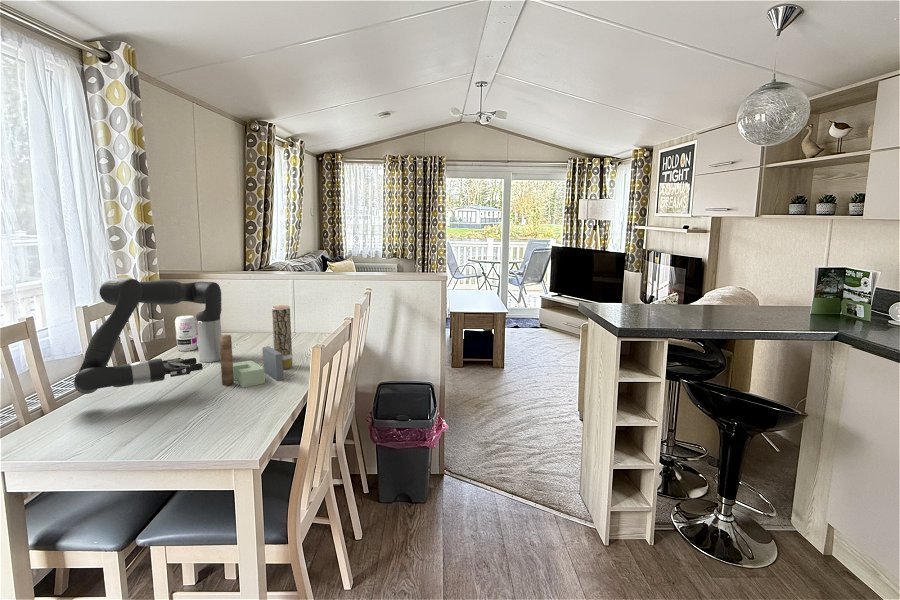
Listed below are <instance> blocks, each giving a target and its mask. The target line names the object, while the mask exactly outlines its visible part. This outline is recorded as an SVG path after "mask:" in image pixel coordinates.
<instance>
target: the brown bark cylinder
mask: <svg viewBox="0 0 900 600" xmlns="http://www.w3.org/2000/svg"><path fill="white" fill-rule="evenodd" d="M271 310H272V311H271V313H272V332H273V333H272V334H273V349H275V350H276V351H278V352H280V353H282V359H283V370H288V369H291V368H292V367H293V347H292V346H293V345H292V321H291V306H290V305H285V304H284V305H283V304H281V305H274V306H272V307H271Z"/></svg>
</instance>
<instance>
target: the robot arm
mask: <svg viewBox="0 0 900 600" xmlns="http://www.w3.org/2000/svg"><path fill="white" fill-rule="evenodd" d="M99 296H100V298H101V300H103V302H105V303H106V304H108V305H112V306H115V307H114V309H113V311H112V313H111V314H110V316H109V317H107V319H105V321H104V322H103V323H102V324H101V325H100V326H99V327H98V328H97V330H96V331H95V332H94V333H93V335H92V336H91V338H90V341H89V343H88V345H87V348H86V351H85V354H84V358H83V361H82V363H81V365H80V367H79V368H80V369H78V372H77V373H76V375H75V376H74V380H73V381H74V382H73V385H74V389H75V390H76V391H77V392H78V393H80V394H83V395H89V394H93V393H94V392H96V391H97V390H98V389H104V388H110V387H111V388H112V387H113V388H121V387H123V388H124V387H129V386H135V385H144V384H150V383H157V382H163V381H164V380H165V376H166V375H170V377H171V378H173V377H179V376H185V375H186V376H187V375H190V374H191V373H192V372H197V371H202V370H203V367H204V366H203V363H212V362H218V361H221V358H220V343H219V336H222V326H221V325H222V323H221V314H222V289H221V286H220V284H219V283H217V282H214V281H193V282H183V283H182V282H181V281H177V280H171V279H169V280H168V279H167V280H166V279H157V280H156V279H155V280H145V281H139V280H137V279H135V278H130V277H129V278H128V277H127V278H126V277H125V278H124V277H122V278H111V279H108V280H106V281H105V282H103V283H102V284H101V286H100V288H99ZM182 302H188V303H195V304H201V305H202V304H203V305H204V306H205V308H204V310H202V311H199V312H198V313H196V314H195V322H196V336H197V349H198V360H199V362H202V363H197V358H196V357H191V358H185V359H184V358H181V357H178V358H171V359H165V360H164V359H162V358H154V359H149V360H148V359H147V360H141V361H140V360H139V361H136V362H133V363H132V362H131V363H126V364H120V365H115V366H114V365H113V366H107V365H108V363H109V361H110V359H111V357H112V355H113V352H114V349H115V348H116V347H115V346H116V344H117V342H118V339H119V338H120V335H121V333H122V331H123V330H124V328H125V327H126V325H127V323H128V321H129V320H130V319H131V317H132V315H133V312H134V311H135V309H136V308H137V306H138V305H139V304H140V303H142V304H149V305H175V304H179V303H182Z"/></svg>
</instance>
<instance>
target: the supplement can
mask: <svg viewBox="0 0 900 600" xmlns="http://www.w3.org/2000/svg"><path fill="white" fill-rule="evenodd" d="M174 324H175V339H176V349H177V350H178V351H179V350H180V352H190V350H192V351H194V350H196V349H198V336H197V322H196V318H195V317H194V315H179V316H176V318H175V320H174Z"/></svg>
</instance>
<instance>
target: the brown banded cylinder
mask: <svg viewBox="0 0 900 600" xmlns="http://www.w3.org/2000/svg"><path fill="white" fill-rule="evenodd" d="M219 343H220V358H221V360H220V370H221V373H220V374H221V384H222V386H224V387H231V386H233V385H235V381H234V374H233V363H234V361H233V359H234V358H233V345H232V335H231V334H221V336H219Z"/></svg>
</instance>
